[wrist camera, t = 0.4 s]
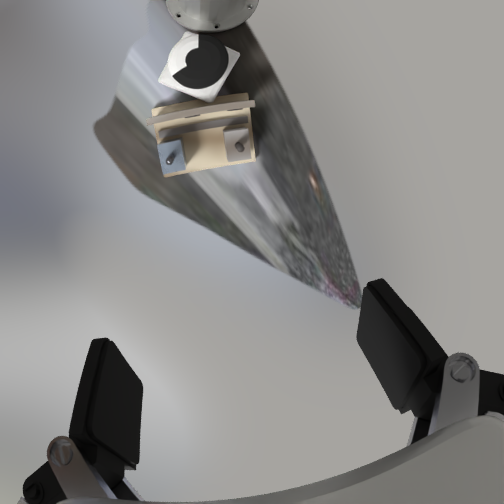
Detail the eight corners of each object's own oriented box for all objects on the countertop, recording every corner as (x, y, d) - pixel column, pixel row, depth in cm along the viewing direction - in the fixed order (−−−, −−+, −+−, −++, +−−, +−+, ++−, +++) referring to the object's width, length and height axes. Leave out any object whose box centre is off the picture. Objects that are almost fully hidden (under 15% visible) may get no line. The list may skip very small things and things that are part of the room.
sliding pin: (160, 141, 34) (153, 148, 30) (182, 136, 35) (178, 142, 30) (166, 168, 36) (160, 179, 32) (187, 164, 37) (184, 174, 32)
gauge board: (152, 108, 33) (140, 110, 26) (246, 92, 34) (257, 90, 27) (165, 175, 38) (157, 193, 31) (254, 159, 39) (266, 174, 32)
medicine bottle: (234, 61, 32) (248, 45, 22) (210, 104, 35) (213, 103, 24) (188, 42, 29) (183, 18, 19) (164, 85, 32) (148, 77, 22)
